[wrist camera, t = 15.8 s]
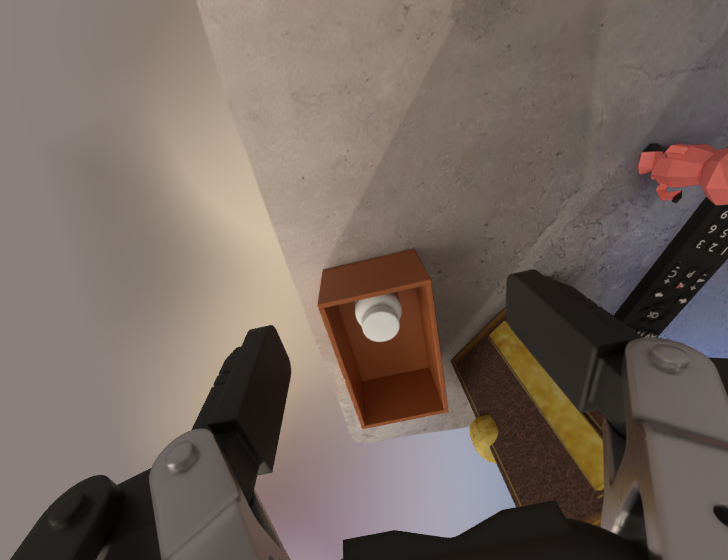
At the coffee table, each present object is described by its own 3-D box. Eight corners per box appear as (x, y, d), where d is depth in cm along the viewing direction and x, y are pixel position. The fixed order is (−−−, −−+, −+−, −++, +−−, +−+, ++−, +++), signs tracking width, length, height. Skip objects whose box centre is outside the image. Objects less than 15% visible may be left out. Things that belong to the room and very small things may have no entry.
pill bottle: (394, 265, 38) (408, 304, 29) (393, 299, 40) (406, 345, 32) (352, 266, 38) (354, 307, 29) (354, 301, 40) (356, 348, 32)
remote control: (575, 365, 49) (584, 373, 47) (726, 171, 35) (746, 173, 34) (612, 371, 51) (622, 380, 49) (772, 187, 37) (794, 190, 35)
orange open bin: (322, 269, 38) (317, 304, 31) (413, 248, 38) (431, 279, 30) (359, 381, 48) (362, 429, 41) (432, 366, 48) (448, 412, 40)
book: (536, 267, 40) (772, 439, 18) (574, 295, 43) (822, 477, 20) (433, 370, 48) (509, 577, 26) (471, 388, 50) (569, 592, 28)
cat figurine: (699, 145, 34) (861, 153, 23) (655, 202, 37) (781, 232, 26) (652, 123, 32) (802, 121, 22) (611, 184, 35) (725, 209, 25)
